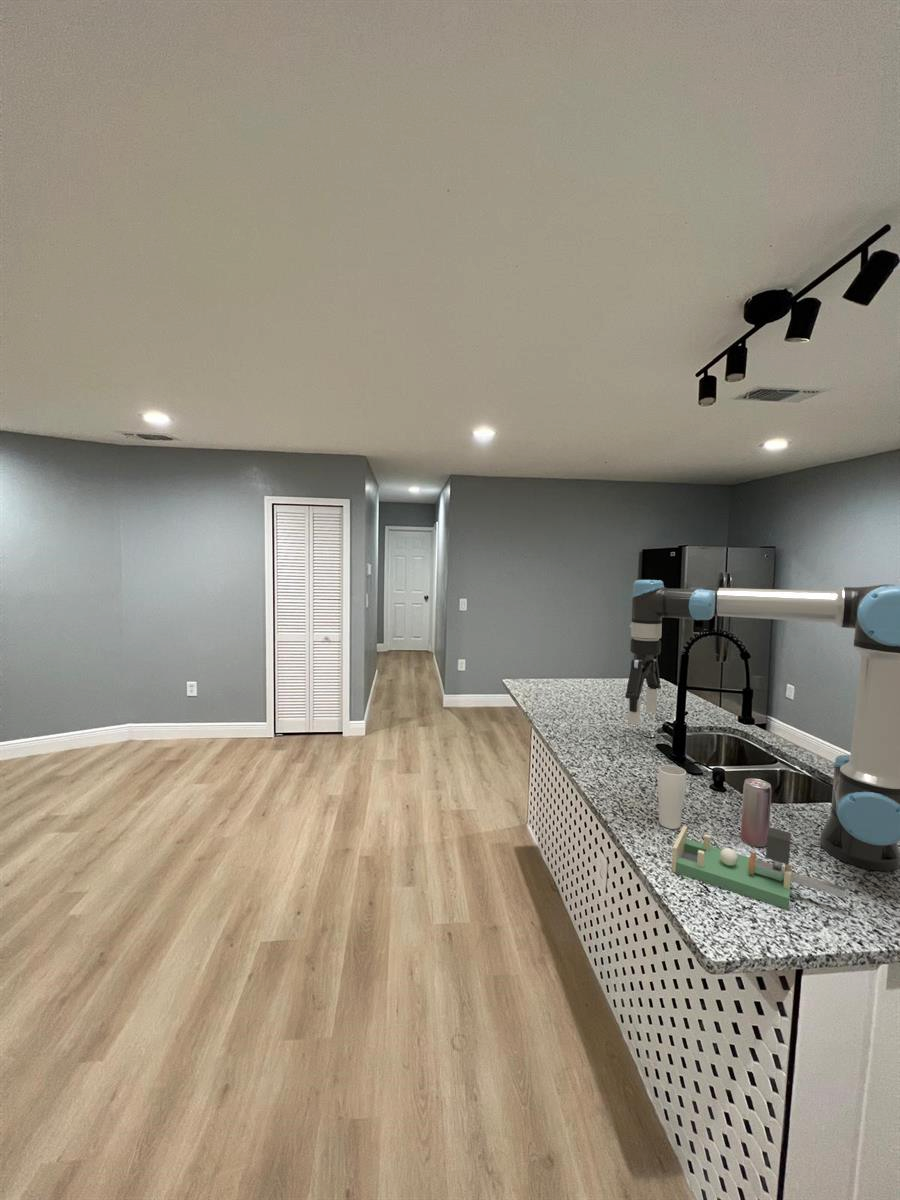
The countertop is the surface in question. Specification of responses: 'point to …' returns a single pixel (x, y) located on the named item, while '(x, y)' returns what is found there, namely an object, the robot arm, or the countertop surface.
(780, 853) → the grey slider
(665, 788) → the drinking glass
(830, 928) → the countertop surface
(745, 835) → the beverage can
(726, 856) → the ball
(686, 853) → the board
